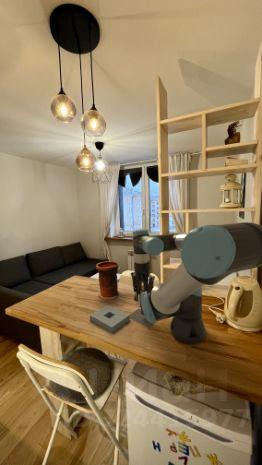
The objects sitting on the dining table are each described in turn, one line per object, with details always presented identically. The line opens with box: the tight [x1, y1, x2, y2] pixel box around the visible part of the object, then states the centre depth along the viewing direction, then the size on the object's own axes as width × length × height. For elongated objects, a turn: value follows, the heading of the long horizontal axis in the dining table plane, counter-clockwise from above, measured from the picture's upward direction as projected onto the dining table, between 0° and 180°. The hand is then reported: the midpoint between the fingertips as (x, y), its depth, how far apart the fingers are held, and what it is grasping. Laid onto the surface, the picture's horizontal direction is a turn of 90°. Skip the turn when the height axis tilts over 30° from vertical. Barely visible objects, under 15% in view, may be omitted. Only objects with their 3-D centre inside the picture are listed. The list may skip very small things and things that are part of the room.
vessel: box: [95, 260, 120, 300], centre depth 125 cm, size 14×14×20 cm
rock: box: [133, 285, 144, 301], centre depth 117 cm, size 11×9×10 cm
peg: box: [140, 289, 144, 315], centre depth 97 cm, size 3×3×12 cm
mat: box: [129, 308, 156, 328], centre depth 98 cm, size 14×10×1 cm
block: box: [89, 304, 131, 333], centre depth 97 cm, size 16×12×3 cm
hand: (143, 307), depth 97 cm, fingers closed on peg, 3 cm apart
